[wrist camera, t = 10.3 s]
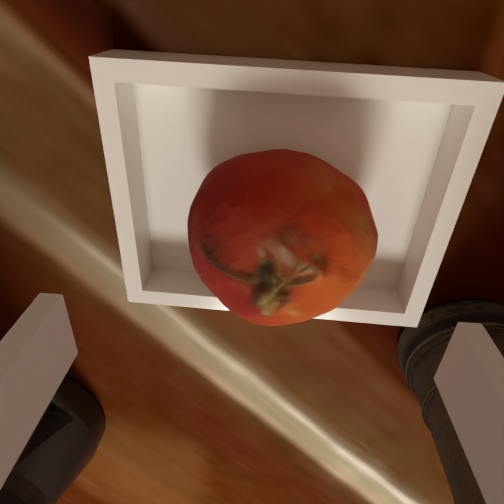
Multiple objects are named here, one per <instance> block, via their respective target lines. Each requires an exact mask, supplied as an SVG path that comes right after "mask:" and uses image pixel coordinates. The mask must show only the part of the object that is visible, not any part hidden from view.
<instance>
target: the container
mask: <svg viewBox="0 0 504 504" xmlns="http://www.w3.org/2000/svg"><path fill="white" fill-rule="evenodd" d="M458 322H466V323H480V324H482V325H483V326H484V328H485V330H486V331H487V333H488V334H489V336H490V337H491V339H492V340H493V342H494V344H495V345H496V347H497V348H498V350H499V351H500V353H501V354H502V356H503V358H504V305H501V304H498V303H495V302H490V301H483V300H465V301H457V302H451V303H448V304H445V305H442V306H438V307H436V308H433V309H431V310H429V311H427V312H425V313H423V314H422V315H421V318H420V321H419V323H418V326H417V327H406V328H405V329H404V331H403V332H402V334H401V336H400V338H399V342H398V349H397V355H398V363H399V366H400V368H401V370H402V372H403V374H404V375H405V378H406V382H407V384H408V386H409V388H410V390H411V391H412V392H413V393H414V394H415V395H416V396H417V397H418V400H419V403H420V406H421V410H422V416H423V420H424V422H425V424H426V425H427V427H428V429H429V430H430V431H431V434H432V437H433V439H434V442H435V445H436V448H437V451H438V453H439V456H440V459H441V463H442V466H443V468H444V472H445V474H446V477H447V480H448V483H449V486H450V489H451V492H452V496H453V499H454V502H455V504H486V502H485V500H484V497H483V495H482V493H481V490H480V488H479V485H478V483H477V481H476V478H475V476H474V474H473V471H472V469H471V466H470V464H469V462H468V459H467V457H466V455H465V452H464V450H463V447H462V445H461V443H460V440H459V438H458V435H457V433H456V431H455V428H454V426H453V424H452V421H451V419H450V416H449V414H448V412H447V409H446V407H445V405H444V402H443V400H442V397H441V395H440V393H439V390H438V388H437V386H436V383H435V381H434V376H435V374H436V372H437V370H438V367H439V365H440V363H441V360H442V358H443V356H444V353H445V351H446V349H447V346H448V344H449V342H450V340H451V337H452V335H453V333H454V330H455V328H456V326H457V323H458Z"/></svg>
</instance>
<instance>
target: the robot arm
mask: <svg viewBox="0 0 504 504" xmlns="http://www.w3.org/2000/svg"><path fill="white" fill-rule="evenodd" d="M77 354H78V351H77V347H76V343H75V340H74V336H73V332H72V328H71V325H70V321H69V317H68V313H67V310H66V306H65V302H64V298H63V295H62V294H49V293H39V295H38V296H37V297H36V298H35V299H34V301H33V302H32V303H31V304H30V306H29V307H28V308H27V309H26V310H25V312H24V313H23V314H22V315H21V317H20V318H19V319H18V320H17V321H16V323H15V324H14V325H13V326H12V328H11V329H10V330H9V331H8V332H7V334H6V335H5V336H4V337H3V339H2V340H1V341H0V504H55V503H56V502H57V500H58V499H59V498H60V497H61V496H62V494H63V493H64V492H65V491H66V490H67V488H68V487H69V486H70V485H71V484H72V482H73V481H74V480H75V479H76V478H77V476H78V475H79V474H80V473H81V472H82V470H83V469H84V468H85V467H86V465H87V464H88V463H89V462H90V461H91V459H92V458H93V456H94V454H95V452H96V450H97V447H98V445H99V443H100V441H101V438H102V436H103V433H104V430H105V420H104V416H103V413H102V411H101V409H100V407H99V405H98V404H97V402H96V401H95V400H94V398H93V397H92V396H91V395H90V394H89V393H88V392H87V391H86V390H85V389H84V388H83V387H82V386H80V385H79V384H78V383H77V382H75V381H74V380H72V379H71V378H69V377H68V376H66V373H67V371H68V370H69V368H70V366H71V364H72V363H73V361H74V359H75V357H76V356H77ZM434 381H435V383H436V386H437V388H438V390H439V393H440V395H441V397H442V400H443V402H444V405H445V407H446V409H447V412H448V414H449V416H450V419H451V421H452V424H453V426H454V428H455V431H456V433H457V435H458V438H459V440H460V443H461V445H462V447H463V450H464V452H465V455H466V457H467V459H468V462H469V464H470V466H471V469H472V471H473V474H474V476H475V478H476V481H477V483H478V485H479V488H480V490H481V493H482V495H483V497H484V500H485V502H486V504H504V358H503V356H502V354H501V353H500V351H499V350H498V348H497V347H496V345H495V344H494V342H493V340H492V339H491V337H490V336H489V334H488V333H487V331H486V330H485V328H484V326H483V325H482V324H480V323H466V322H458V323H457V326H456V328H455V330H454V333H453V335H452V337H451V340H450V342H449V344H448V346H447V349H446V351H445V353H444V356H443V358H442V360H441V363H440V365H439V367H438V370H437V372H436V374H435V376H434Z"/></svg>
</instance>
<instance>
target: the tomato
mask: <svg viewBox="0 0 504 504" xmlns="http://www.w3.org/2000/svg"><path fill="white" fill-rule="evenodd" d="M187 227H188V242H189V249H190V254H191V258H192V262H193V266H194V268H195V270H196V271H197V273H198V275H199V276H200V278H201V281H202V282H203V283H204V284H205V286H206V287H207V288H208V289H209V290H210V291H211V292H212V293H213V294H214V295H215V296H216V297H217V298H218V299H219V300H220V302H221V303H222V304H223V305H224V306H225V307H227V308H228V309H229V310H230V311H231V312H233V313H234V314H235V315H237V316H239V317H240V318H242V319H244V320H246V321H249V322H251V323H255V324H259V325H264V326H282V325H287V324H293V323H298V322H303V321H306V320H309V319H313V318H316V317H318V316H320V315H323V314H325V313H327V312H330V311H332V310H333V309H335V308H336V307H338V306H339V305H340V304H341V303H342V302H344V301H345V300H346V299H347V298H348V297H349V296H350V295H351V294H352V293H353V292H354V291H355V290H356V289H357V288H358V287H359V286H360V284H361V283H362V281H363V280H364V278H365V275H366V273H367V271H368V269H369V267H370V265H371V263H372V261H373V260H374V258H375V254H376V250H377V244H378V232H377V228H376V225H375V222H374V219H373V216H372V212H371V209H370V206H369V202H368V200H367V197H366V195H365V193H364V191H363V190H362V189H361V187H360V186H359V185H358V184H357V183H356V182H354V181H353V180H352V179H351V178H350V177H349V176H347V175H345V174H344V173H342V172H341V171H339V170H338V169H337V168H335V167H333V166H332V165H330V164H329V163H327V162H326V161H324V160H322V159H320V158H318V157H316V156H313V155H311V154H308V153H304V152H299V151H294V150H288V149H274V150H267V151H260V152H253V153H247V154H242V155H238V156H235V157H233V158H231V159H228V160H226V161H224V162H222V163H220V164H219V165H217V166H216V167H214V168H213V169H212V170H211V171H210V172H209V173H208V174H207V176H206V177H205V178H204V180H203V182H202V184H201V186H200V188H199V189H198V191H197V193H196V195H195V197H194V199H193V202H192V204H191V207H190V210H189V215H188V224H187Z"/></svg>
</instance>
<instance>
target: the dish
mask: <svg viewBox="0 0 504 504" xmlns="http://www.w3.org/2000/svg"><path fill="white" fill-rule="evenodd" d="M89 62H90V68H91V75H92V81H93V87H94V93H95V99H96V105H97V112H98V118H99V124H100V130H101V136H102V142H103V149H104V155H105V161H106V167H107V173H108V179H109V186H110V192H111V198H112V204H113V210H114V216H115V223H116V229H117V235H118V241H119V247H120V253H121V260H122V266H123V272H124V278H125V284H126V290H127V297H128V302H137V303H148V304H160V305H171V306H182V307H193V308H204V309H216V310H227V311H230V310H229V309H228V308H227V307H225V306H224V305H223V304H222V303H221V302H220V300H219V299H218V298H217V297H216V296H215V295H214V294H213V293H212V292H211V291H210V290H209V289H208V288H207V287H206V286H205V284H204V283H203V282H202V281H201V278H200V276H199V275H198V273H197V271H196V270H195V268H194V266H193V262H192V258H191V254H190V249H189V242H188V227H187V224H188V215H189V210H190V207H191V204H192V202H193V199H194V197H195V195H196V193H197V191H198V189H199V188H200V186H201V184H202V182H203V180H204V178H205V177H206V176H207V174H208V173H209V172H210V171H211V170H212V169H213V168H214V167H216V166H217V165H219V164H220V163H222V162H224V161H226V160H228V159H231V158H233V157H235V156H238V155H242V154H247V153H253V152H260V151H267V150H274V149H288V150H294V151H299V152H304V153H308V154H311V155H313V156H316V157H318V158H320V159H322V160H324V161H326V162H327V163H329V164H330V165H332V166H333V167H335V168H337V169H338V170H339V171H341V172H342V173H344V174H345V175H347V176H349V177H350V178H351V179H352V180H353V181H354V182H356V183H357V184H358V185H359V186H360V187H361V189H362V190H363V191H364V193H365V195H366V197H367V200H368V202H369V206H370V209H371V212H372V216H373V219H374V222H375V225H376V228H377V232H378V244H377V250H376V254H375V258H374V260H373V261H372V263H371V265H370V267H369V269H368V271H367V273H366V275H365V278H364V280H363V281H362V283H361V284H360V286H359V287H358V288H357V289H356V290H355V291H354V292H353V293H352V294H351V295H350V296H349V297H348V298H347V299H346V300H345V301H344V302H342V303H341V304H340V305H339V306H338V307H336V308H335V309H333V310H332V311H330V312H327V313H325V314H323V315H320V316H318V317H316V319H327V320H339V321H350V322H361V323H372V324H383V325H394V326H406V327H417V326H418V323H419V321H420V318H421V315H422V313H423V310H424V307H425V305H426V302H427V299H428V296H429V294H430V291H431V288H432V286H433V283H434V280H435V278H436V275H437V272H438V270H439V267H440V264H441V262H442V259H443V256H444V253H445V251H446V248H447V245H448V243H449V240H450V237H451V235H452V232H453V229H454V227H455V224H456V221H457V218H458V216H459V213H460V210H461V208H462V205H463V202H464V200H465V197H466V194H467V192H468V189H469V186H470V184H471V181H472V178H473V175H474V173H475V170H476V167H477V165H478V162H479V159H480V157H481V154H482V151H483V149H484V146H485V143H486V140H487V138H488V135H489V132H490V130H491V127H492V124H493V122H494V119H495V116H496V114H497V111H498V108H499V106H500V103H501V100H502V97H503V95H504V81H502V80H500V79H497V78H495V77H492V76H490V75H487V74H484V73H482V72H479V71H463V70H447V69H430V68H414V67H398V66H382V65H365V64H349V63H333V62H316V61H300V60H284V59H267V58H251V57H235V56H219V55H202V54H186V53H170V52H153V51H137V50H121V49H113V50H109V51H106V52H102V53H99V54H96V55H92V56H89Z"/></svg>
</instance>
